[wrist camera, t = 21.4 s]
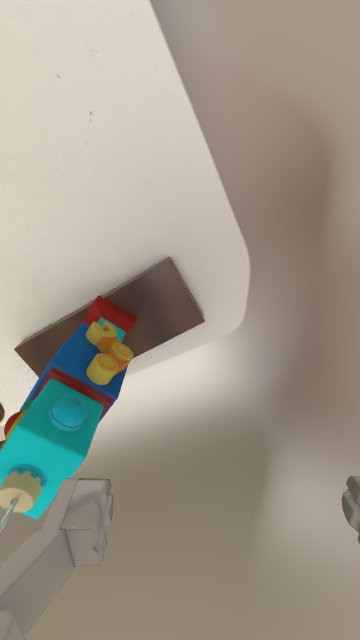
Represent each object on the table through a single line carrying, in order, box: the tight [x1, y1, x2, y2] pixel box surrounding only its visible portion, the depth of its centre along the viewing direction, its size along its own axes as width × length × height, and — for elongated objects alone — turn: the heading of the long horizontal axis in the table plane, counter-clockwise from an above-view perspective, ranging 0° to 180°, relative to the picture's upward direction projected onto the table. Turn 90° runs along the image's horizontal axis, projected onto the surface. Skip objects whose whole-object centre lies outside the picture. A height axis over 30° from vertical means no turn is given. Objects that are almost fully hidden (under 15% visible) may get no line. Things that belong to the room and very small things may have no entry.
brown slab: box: [14, 257, 205, 378], centre depth 38 cm, size 24×9×2 cm, turn 119°
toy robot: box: [0, 296, 136, 533], centre depth 25 cm, size 12×6×25 cm, turn 145°
